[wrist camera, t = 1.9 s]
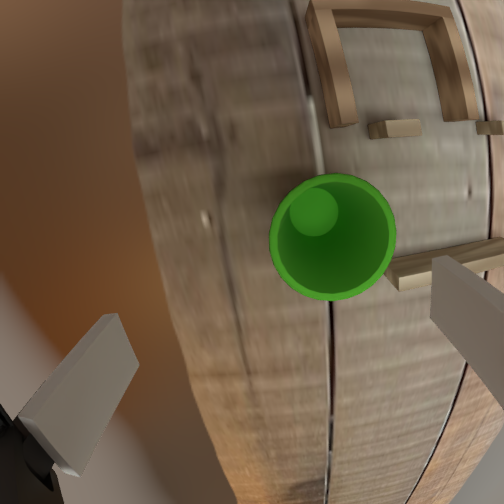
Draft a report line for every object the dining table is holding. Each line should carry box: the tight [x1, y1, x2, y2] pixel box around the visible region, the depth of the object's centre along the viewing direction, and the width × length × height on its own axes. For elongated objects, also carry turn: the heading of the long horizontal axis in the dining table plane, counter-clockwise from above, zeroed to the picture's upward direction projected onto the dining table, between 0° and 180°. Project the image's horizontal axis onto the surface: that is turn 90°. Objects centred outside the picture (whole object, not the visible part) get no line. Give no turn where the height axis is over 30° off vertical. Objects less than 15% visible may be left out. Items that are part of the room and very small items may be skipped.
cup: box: [269, 173, 396, 301], centre depth 26 cm, size 9×9×11 cm
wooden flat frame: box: [305, 0, 504, 292], centre depth 25 cm, size 28×22×5 cm
